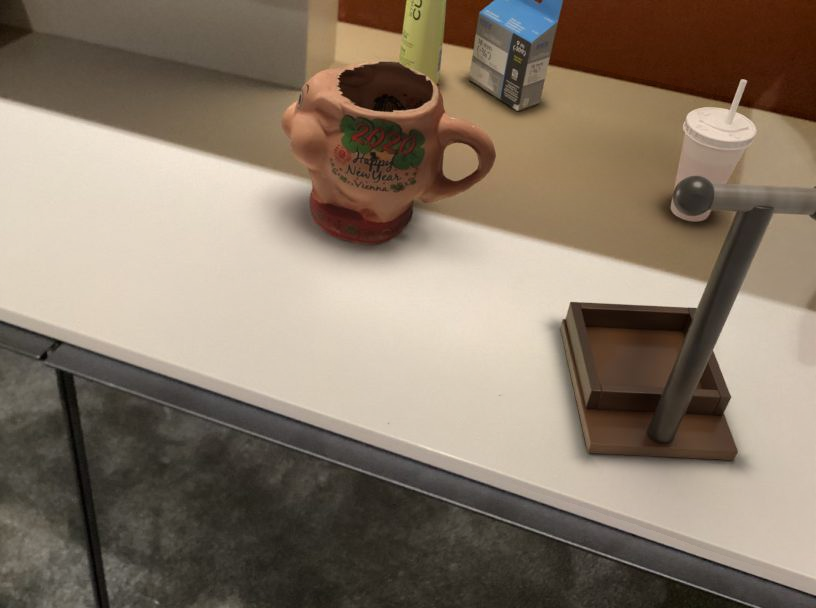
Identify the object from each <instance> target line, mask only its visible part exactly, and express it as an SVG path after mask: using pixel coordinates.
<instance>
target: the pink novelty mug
mask: <svg viewBox="0 0 816 608" xmlns="http://www.w3.org/2000/svg"><path fill="white" fill-rule="evenodd" d="M280 125H281V129H282V131H283V133H284V135H286V137H287V138H288V139H289V140H290V148H291V149H290V150H291V152H292V155H293V156H294V158H295V159H296V160H297V161H298V162H300V163H301V164H303V165H304V166H306V168H307V171H308V174H309V177H310V180H311V190H310V195H309V210H310V214H311V216H312V219H313V221H314V222H315V223H316V225H318V227H320V229H321V230H322V231H324V232H325V233H327V234H329V235H331V236H332V237H336V238H338V239H340V240H344V241H347V242H352V243H357V244H364V245H376V244H383V243H387V242H389V241H391V240H393V239H395V238H396V237H397V236H398V235H399V234H401V233H402V232H403V231H404V230H405V229H406V228H407V227H408V225H409V224H410V222H411V220H412V218H413V214H414V201H415V199H417V200H420V201H421V202H422V203H424V204H431V203H434V202H437V201H442V200H445V199H450V198H453V197H456V196H457V195H459V194H461V193H463V192H466V191H468V190H470V188H472V187H473V186H474V185H477V184H478V183H479V182H481V181H482V180H483V179H485V177H487V175H488V174H489V173H490V171H491V170H492V168H493V166H494V164H495V162H496V157H497V154H496V149H495V145H494V142H493V140H492V138H491V137H490V136H489V134H488V133H486V131H485V130H484V129H482V127H480V126H478V125H477V124H475V123H473V122H472V121H468V120H465V119H463V118H458V117H452V116H450V115H448V114H447V112H446V110H445V106H444V99H443V94H442V92H441V90H440V88H439V86H438V85H437V84H435V83H434V82H433V81H432V80H431V79H430V78H429V77H428V76H426V75H424V74H422V73H420V72H418V71H416V70H414V69H412V68H409V67H406V66H403V65H402V64H401V63H399V61H370V62H369V61H367V62H365V61H364V62H355V63H352V64H349V65H346V66H342V67H336V68H329V69H324V70H322V71H319V72H317V73H315V74H313V75H312V76H311V77H310V78H309V79H308V81H306V82H305V84H304V85H303V86H302V88H301V89H300V92H299V96H298V100H296V101H295V102H293V103H292V104H290V106H288V107H287V108H286V109H285V110H284V112H283V113H282V115H281V119H280ZM452 144H463V145H467V146H469V147H470V148H471V149H473V150H474V152H475V154H476V156H477V161H478V165H477V168H476V170H474V171H473V172H472V173H470V174H469V175H467V176H465V177H463V178H461V179H459V180H453V179H450V178H448V177H446V175H445V173H444V170H443V167H444V154H445V150H446V148H447V147H449V146H451V145H452Z"/></svg>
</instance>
